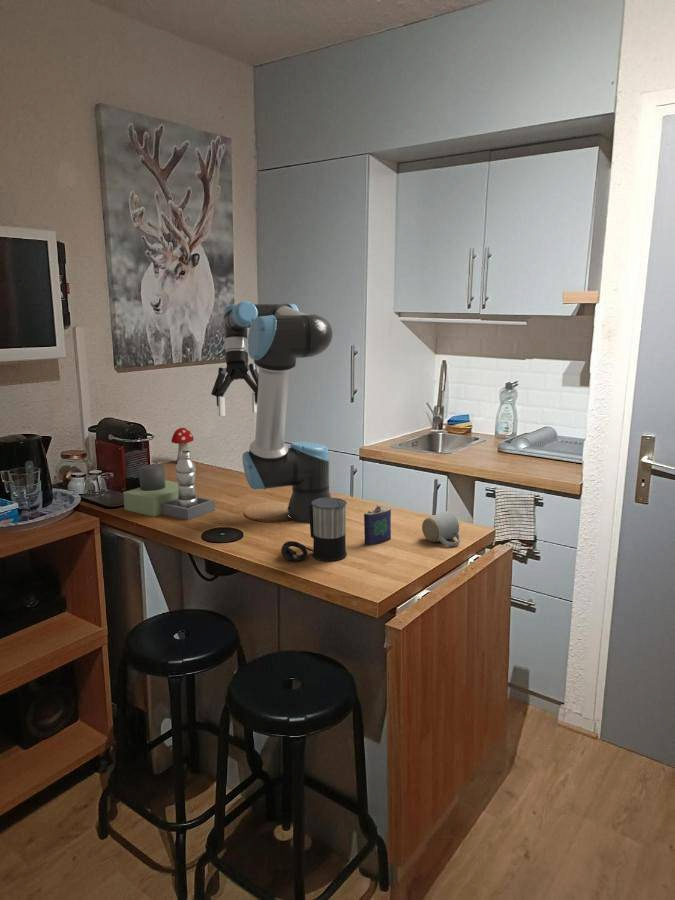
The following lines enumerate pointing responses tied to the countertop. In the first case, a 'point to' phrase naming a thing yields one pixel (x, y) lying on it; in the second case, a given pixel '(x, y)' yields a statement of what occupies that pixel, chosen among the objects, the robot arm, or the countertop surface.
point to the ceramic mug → (441, 528)
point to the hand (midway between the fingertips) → (238, 414)
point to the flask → (377, 526)
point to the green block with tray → (161, 496)
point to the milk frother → (323, 531)
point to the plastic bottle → (186, 480)
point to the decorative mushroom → (182, 439)
